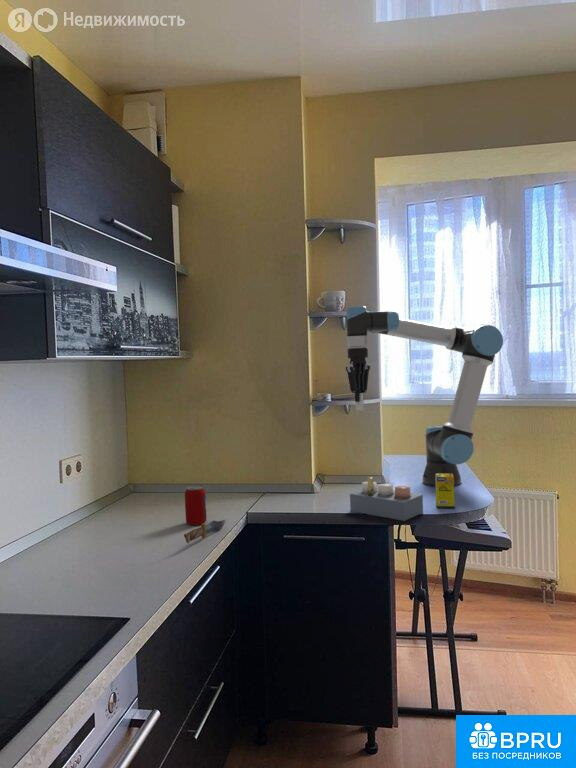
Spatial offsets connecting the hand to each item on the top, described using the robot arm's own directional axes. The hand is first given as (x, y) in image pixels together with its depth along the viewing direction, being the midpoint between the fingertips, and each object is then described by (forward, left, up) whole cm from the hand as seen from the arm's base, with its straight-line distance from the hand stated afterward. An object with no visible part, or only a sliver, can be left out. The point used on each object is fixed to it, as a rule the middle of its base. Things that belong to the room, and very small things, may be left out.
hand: (359, 410), depth 219 cm
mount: (+15, +20, -32) cm, 41 cm away
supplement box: (-2, +33, -33) cm, 46 cm away
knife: (+69, -9, -33) cm, 77 cm away
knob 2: (+15, +20, -32) cm, 40 cm away
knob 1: (+15, +13, -32) cm, 37 cm away
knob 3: (+15, +26, -32) cm, 44 cm away
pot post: (+19, +17, -26) cm, 37 cm away
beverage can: (+61, -24, -33) cm, 73 cm away
